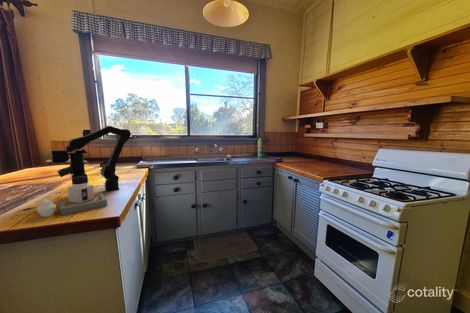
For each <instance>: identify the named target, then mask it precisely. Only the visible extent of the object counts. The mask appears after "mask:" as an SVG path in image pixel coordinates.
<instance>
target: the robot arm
mask: <svg viewBox="0 0 470 313" xmlns="http://www.w3.org/2000/svg"><path fill="white" fill-rule="evenodd" d="M108 134H113V135H116V142H115V144H114V147H113V148H112V151H111V155H110V156H109V159H108V161H107V163H106V164H102V166H101V168H100V170H99V171H100V175H101V177H103V178H104V179H105V182H104V190H105V191H107V192H111V191H116V190H117V191H119V190H120V188H119V178H120V176H118V175H117V174H116V166H117V163H118V161H119V157H120V156H121V154H122V150H123V148H124V146H125V144H126V143H127V142H128V141H129V139H130V137H131V136H132V132H131V131H130V130H129V129H127V128H126V129H125V128H122V129H121V128H118V127H114V126H112V125H106V126H105V127H103V128H101V129H98V130H96V131H93V132H91V133H89V134H87V135H83V136H79V137H76V138H72V139H70V140H69V141H68V143H67V146H66V147H65V148H64V150H59V149H58V150H53V149H52V150H51V152H50V154H51V155H50V160H51V164H53V165H54V164H55V165H56V164H65V163H67V162H68V161H69V160H70V164H69V166H67V167H63V168H62V169H61V168H60V169H59V170H57V172H56V173H58V175H59V177H60V178H62V177H65V176H67V175H69V174H70V176H71V179H72V178H73V177H76V176H87V177H88V174H87V173H86V170H85V162H84V161H85V160H84V158H85V157H84V154H87V153H89V152H88V151H86V150H85V149H84V147H85V146H87V145H88V144H89V143H91V142H93V141H95V140H97V139H100V138H101V137H103V136H106V135H108Z"/></svg>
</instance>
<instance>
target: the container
mask: <svg viewBox="0 0 470 313" xmlns="http://www.w3.org/2000/svg"><path fill="white" fill-rule="evenodd" d="M94 192H95V191H94V185H93V184H90V183H89V177H88V175H87V176H76V177H73V178H72V177H71V185H70V186H68V187H67V194H68V202H72V203H76V204H83V203H86V202H88V201H91V200H94V199H95V196H94V195H95V193H94Z"/></svg>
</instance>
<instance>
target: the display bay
mask: <svg viewBox="0 0 470 313" xmlns="http://www.w3.org/2000/svg"><path fill="white" fill-rule="evenodd" d="M107 206H108V200H107V198H106V197H105V195H104V194H103V193H102V192H100V193H98V200H93V201H90V202H88V201H87V202H82V203H77V204H73V205H72V204H71V205H67V206H65V199H60V200H59V207H60V208H59V209H60V210H59V211H60V216H64V215H69V214H74V213H79V212H84V211H85V212H86V211H89V210H93V209H98V208H103V207H107Z"/></svg>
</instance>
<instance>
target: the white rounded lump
mask: <svg viewBox="0 0 470 313" xmlns="http://www.w3.org/2000/svg"><path fill="white" fill-rule="evenodd" d="M56 208H57V205H56V204H55V203H54V202H53V201H52V200H50V199H45V200H42V201H41V202H40V204H39V206H37V207H36V212H37V214H39V215H40V216H41V217H43V218H46V217H47V218H48V217H51V216H53V214H54V213H55V211H56Z"/></svg>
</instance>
